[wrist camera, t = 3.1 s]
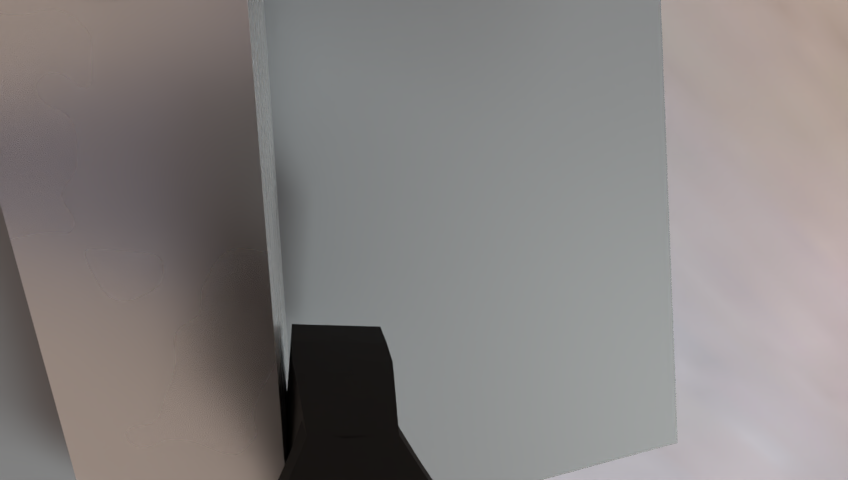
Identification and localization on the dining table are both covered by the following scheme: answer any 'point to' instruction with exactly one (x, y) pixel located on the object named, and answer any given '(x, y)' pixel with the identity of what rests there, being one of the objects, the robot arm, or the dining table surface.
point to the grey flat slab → (458, 228)
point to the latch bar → (149, 231)
